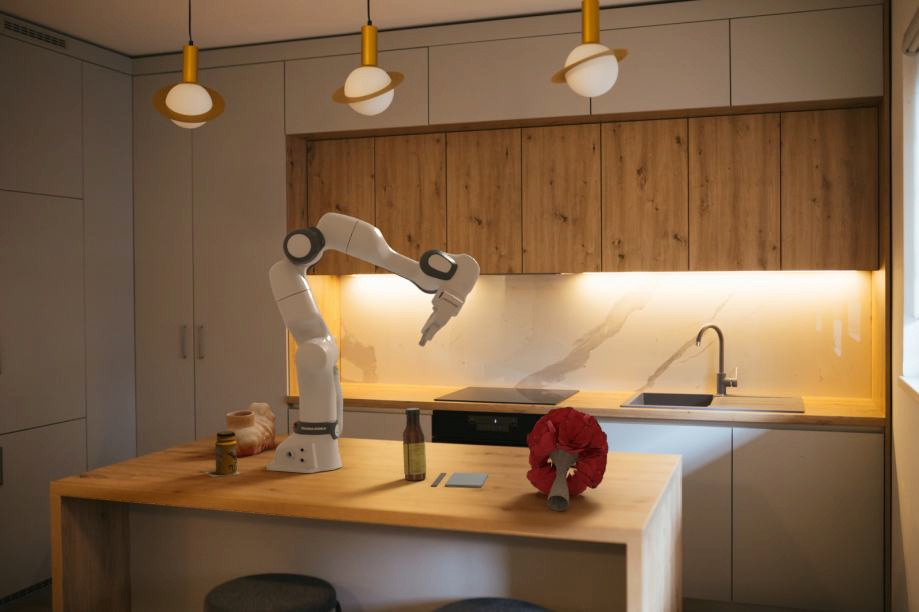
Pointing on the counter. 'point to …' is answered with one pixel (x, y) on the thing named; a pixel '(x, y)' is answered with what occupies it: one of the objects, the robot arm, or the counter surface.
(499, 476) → the counter surface
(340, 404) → the glass bottle
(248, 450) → the ceramic vessel
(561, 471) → the bouquet
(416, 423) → the sauce bottle
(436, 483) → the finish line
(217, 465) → the condiment
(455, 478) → the mat
